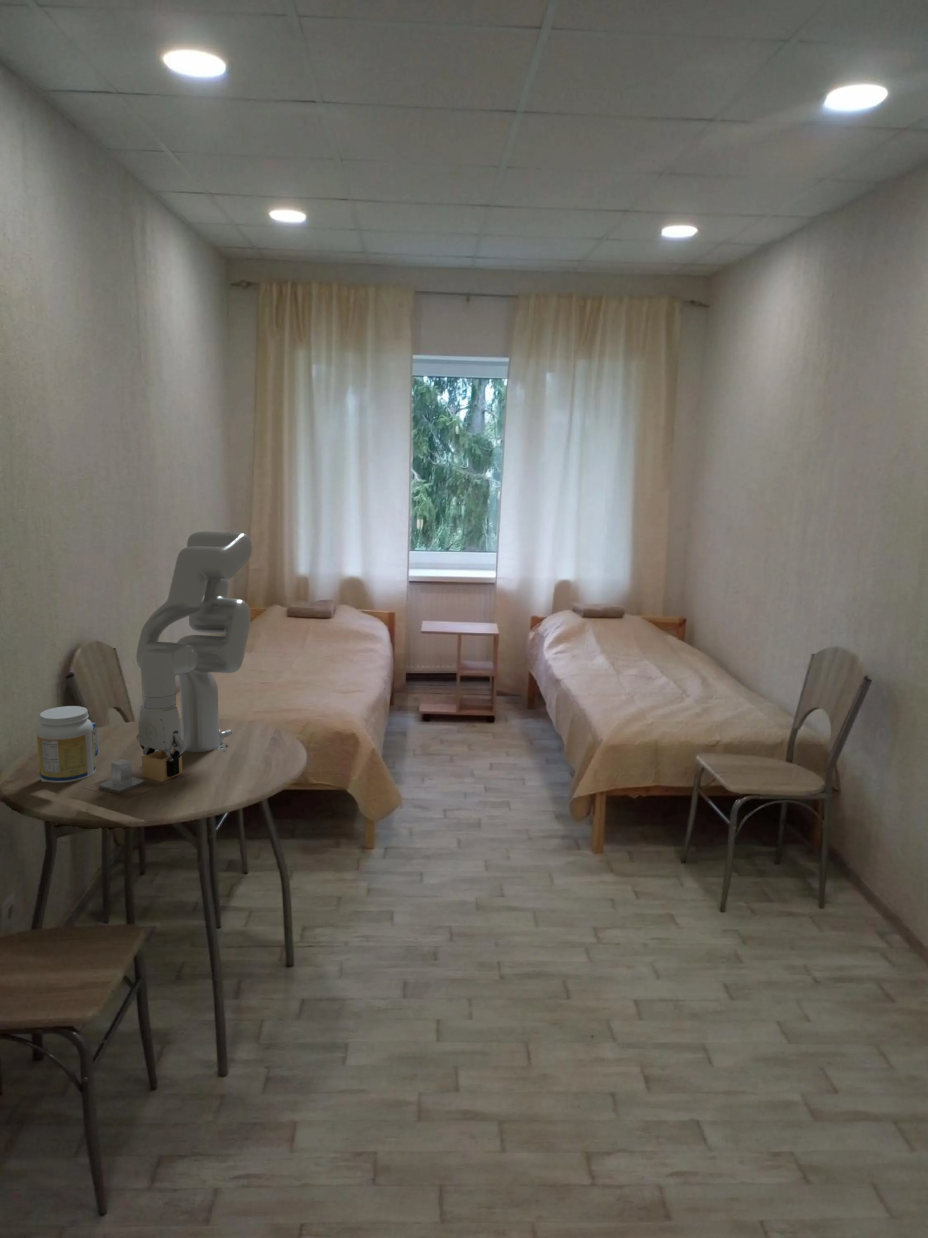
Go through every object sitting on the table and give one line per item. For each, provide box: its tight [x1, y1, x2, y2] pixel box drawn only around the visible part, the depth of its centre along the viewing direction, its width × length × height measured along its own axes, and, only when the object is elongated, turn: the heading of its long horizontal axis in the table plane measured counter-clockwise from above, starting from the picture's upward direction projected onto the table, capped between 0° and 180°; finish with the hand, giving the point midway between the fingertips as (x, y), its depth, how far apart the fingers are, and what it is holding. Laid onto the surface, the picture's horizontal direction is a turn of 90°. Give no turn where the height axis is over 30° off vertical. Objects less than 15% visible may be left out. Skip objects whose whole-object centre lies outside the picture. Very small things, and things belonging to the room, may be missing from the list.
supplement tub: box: [36, 705, 97, 784], centre depth 198 cm, size 12×12×17 cm
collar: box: [141, 750, 183, 782], centre depth 199 cm, size 6×6×5 cm
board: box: [83, 765, 194, 801], centre depth 196 cm, size 20×14×2 cm
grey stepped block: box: [99, 758, 146, 795], centre depth 191 cm, size 7×7×6 cm
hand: (162, 771), depth 199 cm, fingers open, 6 cm apart
